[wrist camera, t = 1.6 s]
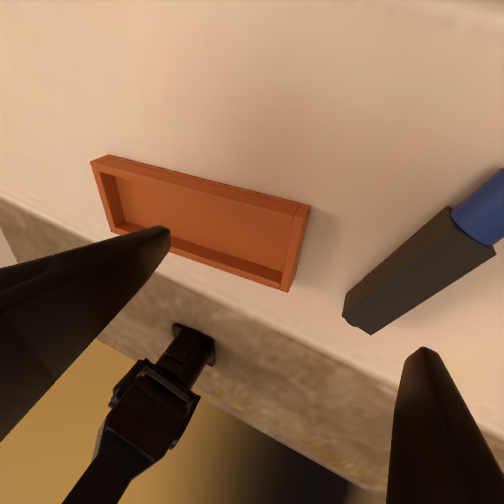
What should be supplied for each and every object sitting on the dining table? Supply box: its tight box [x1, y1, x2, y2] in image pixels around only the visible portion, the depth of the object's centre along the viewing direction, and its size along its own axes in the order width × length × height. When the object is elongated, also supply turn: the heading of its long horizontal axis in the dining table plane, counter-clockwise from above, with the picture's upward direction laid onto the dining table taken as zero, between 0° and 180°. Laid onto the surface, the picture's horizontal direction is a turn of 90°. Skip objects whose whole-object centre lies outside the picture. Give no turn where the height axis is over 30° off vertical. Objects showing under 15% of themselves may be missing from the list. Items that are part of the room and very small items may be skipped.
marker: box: [342, 168, 504, 335], centre depth 19 cm, size 14×3×3 cm, turn 155°
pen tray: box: [90, 155, 310, 293], centre depth 25 cm, size 20×8×2 cm, turn 85°
